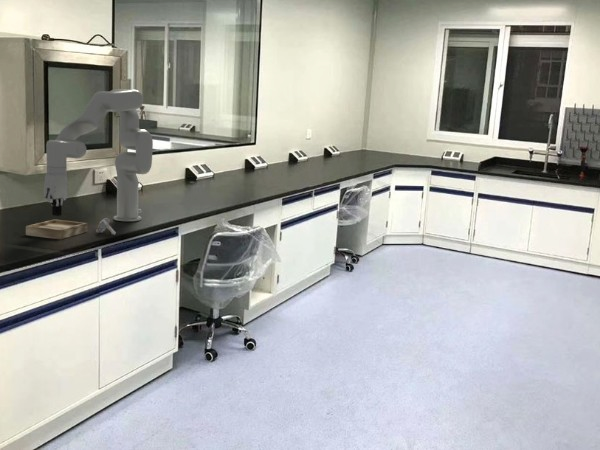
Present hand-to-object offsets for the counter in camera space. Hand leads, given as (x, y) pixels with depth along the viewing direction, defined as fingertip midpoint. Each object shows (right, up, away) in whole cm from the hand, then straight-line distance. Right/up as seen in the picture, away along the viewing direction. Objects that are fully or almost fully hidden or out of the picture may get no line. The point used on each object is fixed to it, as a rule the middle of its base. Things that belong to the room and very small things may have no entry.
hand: (56, 215), depth 246 cm
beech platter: (0, -7, +1) cm, 8 cm away
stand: (+17, -10, +7) cm, 21 cm away
